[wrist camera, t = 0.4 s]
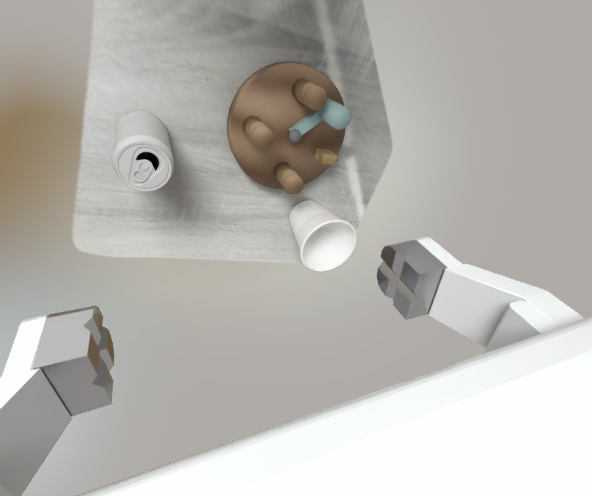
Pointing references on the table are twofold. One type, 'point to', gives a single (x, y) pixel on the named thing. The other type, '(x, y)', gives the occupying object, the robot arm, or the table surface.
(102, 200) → the table surface
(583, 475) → the robot arm
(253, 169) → the stool seat
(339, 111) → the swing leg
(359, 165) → the table surface
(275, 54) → the table surface
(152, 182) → the beverage can
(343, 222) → the cup
